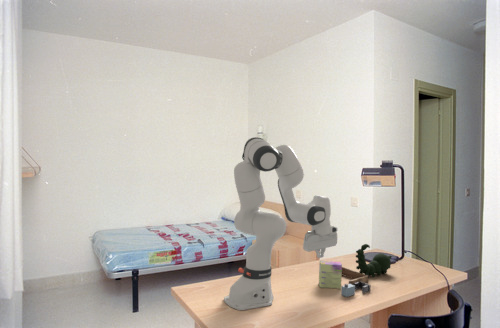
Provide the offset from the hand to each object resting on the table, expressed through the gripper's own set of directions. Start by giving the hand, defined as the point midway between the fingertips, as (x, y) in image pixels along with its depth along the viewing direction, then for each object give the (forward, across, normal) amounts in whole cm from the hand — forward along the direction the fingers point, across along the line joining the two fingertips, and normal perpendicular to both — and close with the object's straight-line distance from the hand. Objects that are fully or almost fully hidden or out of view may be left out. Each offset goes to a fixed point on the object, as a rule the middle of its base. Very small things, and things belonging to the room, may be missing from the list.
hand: (320, 257), depth 169 cm
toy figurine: (+17, +41, -2) cm, 45 cm away
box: (+16, +7, 0) cm, 18 cm away
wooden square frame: (+16, +19, 0) cm, 25 cm away
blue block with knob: (+16, +6, -12) cm, 21 cm away
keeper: (+16, +16, -12) cm, 25 cm away
